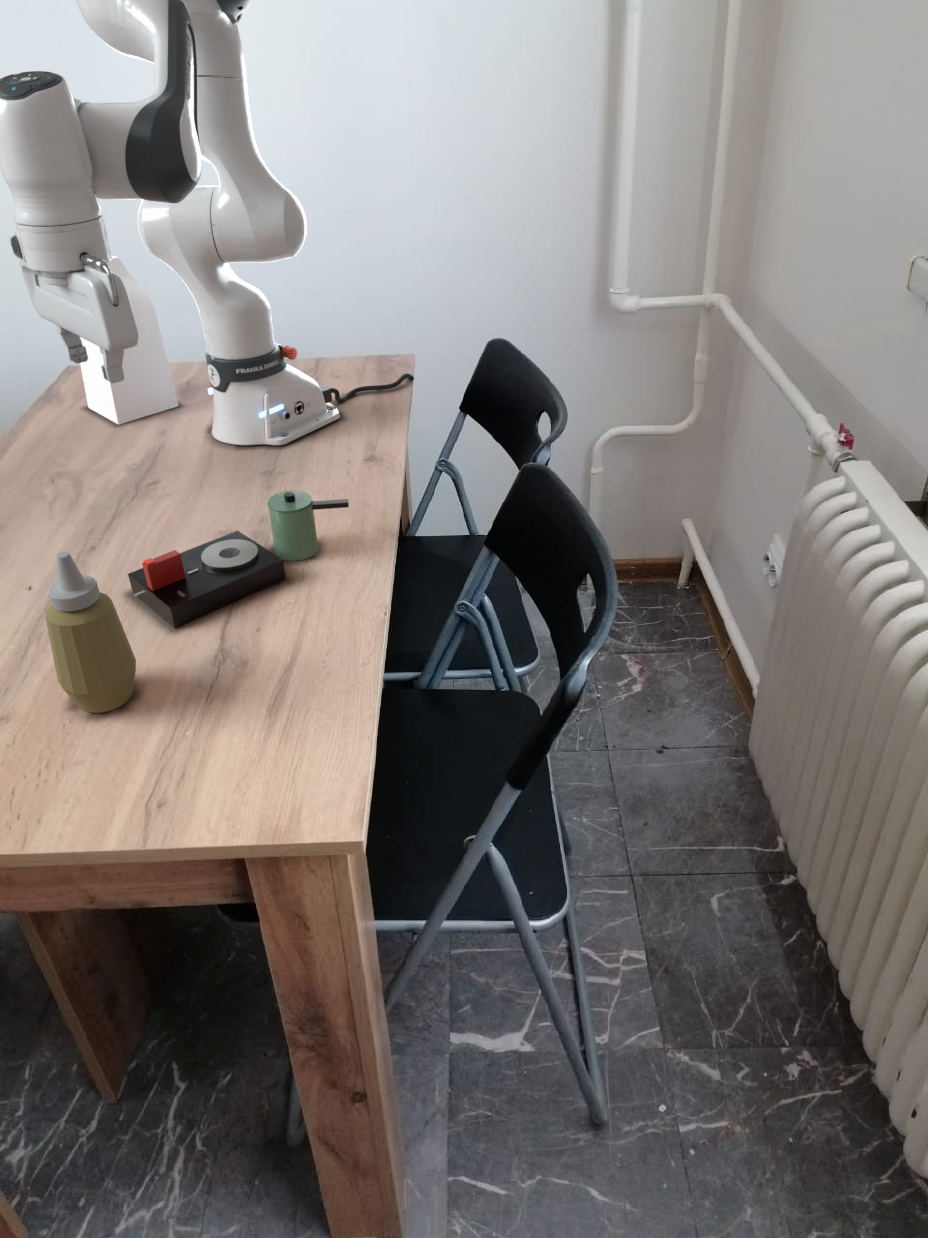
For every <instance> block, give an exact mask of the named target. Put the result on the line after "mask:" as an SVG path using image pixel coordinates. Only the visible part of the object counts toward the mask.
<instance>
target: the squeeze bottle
mask: <svg viewBox="0 0 928 1238" xmlns="http://www.w3.org/2000/svg"><path fill="white" fill-rule="evenodd" d="M56 570H57V571H56V573H57V580H56V581H54V582H53V583H52V584H51V585H50V586H49V588H48V596H49V601H50V603H51V604H50V605H49V607H47V609H46V611H45V622H46V627H47V632H48V637H49V643H50V648H51V654H52V659H53V664H54V668H55V674H56V678H57V679H56V680H57V683H58V684H59V686H60V687H61V688H62V690H63V691H64V692H65V693H66V694H67V695H68V696H69V697H70V699H71V700H72V701H73V702H74V704H75V705H77V707H78V708H79V709H80V710H81V711H85V712H86V713H94V714H100V713H106V712H110V711H114V710H116V709H118V708H120V707H122V706H123V705H124V704H125V703H127V702H128V701H129V700H130V698H131V697H132V695H133V694H134V687H135V686H134V685H135V678H136V672H137V658H136V656H135V653H134V651H133V648H132V646H131V644H130V642H129V640H128V639H129V638H128V637H127V635H126V632H125V629H124V627H123V624H122V621H121V619H120V617H119V615H118V612H117V610H116V608H115V605H114V602H113V600H112V598H111V597H110V596H109V595H108V594H106V593H103V592H101V591H100V588H99V585H98V582H97V580H96V578H95V577H93V576H91V575H88V574H82V573H81V571H80V569H79V567H78V566H77V564H76V562H75V561H74V559H73V557H72V556H71V554H70V552H68V551H63V552H62V551H61V552H59V553H58V554H56Z"/></svg>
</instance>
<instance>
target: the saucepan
mask: <svg viewBox="0 0 928 1238" xmlns="http://www.w3.org/2000/svg"><path fill="white" fill-rule="evenodd" d="M267 507H268V515H269V521H270V527H271V533H272V540H273V546H274V554H275V555H276V556H278V557H279V558H281V559H282V560H283V561H288V562H299V561H304V560H307V559H309V558H312V557H314V555H316V554H317V553H318V551H319V545H318V536H317V528H316V517H315V512H314V511H317V510H328V509H345V508H349V498H342V499H340V498H339V499H327V500H326V499H325V500H314V499H313V495H311V494H310V493H309V492H307V491H303V490H284V491H281V492H278V493H275V494H273V495H272V496H270V497H269V498H268V500H267Z"/></svg>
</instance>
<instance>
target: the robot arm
mask: <svg viewBox="0 0 928 1238" xmlns="http://www.w3.org/2000/svg"><path fill="white" fill-rule="evenodd" d="M75 2H76V4H77V7H78V9H79V12H80V14H81V16H82V18H83V20H84V21H85V23H86V24H87V26H88V27H89V29H90V30H91V31H92V33H94V34H95V36H96V37H97V38H99V40H101V41H102V42H103V43H104V44H106V46H108V47H109V48H111V49H112V50H114V51H115V52H117V53H119V54H122V55H124V56H127V57H129V58H133V59H138V60H141V61H144V62H149V63H150V64H153V87H152V88H153V89H152V90H153V92H152V94H150V96H148V97H146V98H143V99H141V100H137V101H131V102H91V101H90V102H88V101H87V102H86V101H83V102H82V100H80V99H77V98H75V97H73V95H72V92H71V90H70V88H69V85H68V83H67V81H66V79H65V77H63V76H62V75H61V74H58V73H55V72H52V71H44V70H34V71H32V70H31V71H21V72H19V73H12V74H8V75H6V76H3V77H1V78H0V171H1V174H2V178H3V179H4V182H5V183H6V185H7V186H8V189H9V191H10V194H11V197H12V200H13V212H14V213H13V216H14V222H15V226H16V229H17V230H16V231H15V232H14V233H13V234H11V235H9V237H8V243H9V247H10V250H11V253H12V255H13V256H14V257H15V258H18V259H19V266H20V270H21V275H22V277H23V280H24V284H25V286H26V289H27V293H28V295H29V298H30V301H31V303H32V306H33V307H34V309H35V311H36V313H37V314H38V316H39V317H41V318H42V319H45V320H47V321H48V322H50V323H52V324H54V325H55V328H56V332H57V334H58V336H59V337H60V340H61V341H62V343H63V346H64V347H65V349H66V354H67V357H68V359H69V361H71V362H73V363H74V364H80V363H81V362H86V361H87V360H88V355H87V351H86V347H85V346H84V345H82V342H81V339H80V337H82V338H83V339H85V340H87V341H89V342H91V343H93V344H95V345H97V346H99V348H100V352H101V354H103V359H104V365H103V366H101V367H102V371H103V374H104V375H103V376H104V378H105V379H106V380H107V381H109V382H111V383H117V382H120V381H123V380H124V373H123V369H122V362H123V355H124V349H128V348H131V347H135V346H136V345H137V344H138V339H139V334H138V329H137V325H136V321H135V318H134V314H133V310H132V307H131V303H130V300H129V296H128V293H127V291H126V288H125V285H124V283H123V281H122V280H121V278H120V277H119V276H118V275H116V274H115V273H112V272H111V271H110V269H109V268H108V264H107V263H108V262H109V261H110V260H111V259H112V257H113V255H112V252H111V245H110V242H109V238H108V233H107V229H106V224H105V219H104V215H103V211H102V207H101V206H100V203H99V202H98V200H97V199H99V200H100V199H101V200H141V203H140V205H139V208H138V211H137V230H138V233H139V236H140V238H141V240H142V242H143V244H144V246H145V247H146V249H147V250H148V251H149V252H150V253H151V254H152V255H153V256H154V257H155V258H156V259H159V260H160V261H161V262H163V263H164V264H165V265H166V266H168V267H169V268H170V269H171V270H172V271H173V272H175V274H176V275H177V276H178V277H179V278H180V279H181V281H182V282H183V283H184V284H185V287H187V289H188V290H189V293H190V294H191V296H192V299H193V300H194V302H195V304H196V307H197V311H198V313H199V318H200V321H201V326H202V329H203V335H204V339H205V345H206V350H205V361H206V367H207V374H208V379H209V382H210V386H211V387H208V388H207V393H208V395H212V404H213V405H212V411H213V415H212V426H211V435H212V437H213V438H214V439H215V440H217V441H219V442H222V443H224V444H229V445H235V446H256V445H257V446H259V445H267V446H284V445H287V444H289V443H291V442H293V441H295V440H298V439H299V438H301V437H303V436H305V435H307V434H309V433H312V432H314V431H316V430H319V429H320V428H322V427H324V426H327V425H328V424H331V423H332V422H335V421H337V420H339V419H340V411H339V409H338V407H336V406H335V405H333V404H332V402H333V396H332V394H334V400H335V401H336V402H338V403H343V402H345V401H347V400H348V399H350V398H351V397H353V396H354V395H356V394H357V393H361V392H367V391H368V392H369V391H383V390H391V389H394V388H396V387H398V386H399V385H401V384H402V383H403V381H404V380H406V379H408V380H409V381H410V380H411V381H413V380H415V377H414V376H413V374H410V373H407V372H406V373H403V374H402V375H401V376H399V378H398V379H397V380H395V381H394V382H391V383H388V384H378V385H377V384H376V385H364V386H363V385H362V386H358V387H356V388H353V389H351V390H350V391H349V392H347V394H345V395H344V396H342V397H341V395H340V391H339V390H338V389H337V388H335V387H328V386H326V385H323V384H321V383H319V382H317V381H316V380H315V379H314V378H313V377H311V376H309V375H308V374H306V373H304V372H303V371H301V370H299V369H297V368H295V367H294V366H292V365H290V364H288V362H287V360H286V358H287V359H288V360H289V361H295V360H296V359H297V357H298V353H299V352H298V350H297V349H296V347H292V346H290V345H285V346H284V345H282V344H280V343H277V342H276V341H275V333H274V326H273V319H272V310H271V305H270V302H269V300H268V299H267V297H266V296H265V294H264V293H263V292H262V291H261V290H260V289H259V288H257V287H255V286H254V285H252V284H250V283H247V282H245V281H244V280H242V279H241V278H240V277H239V276H237V275H236V274H235V271H234V270H233V269H232V267H231V266H230V264H236V263H237V264H238V263H239V264H241V263H242V264H243V263H244V264H247V263H248V264H251V263H252V264H256V263H259V264H260V263H261V264H262V263H264V264H266V263H267V264H268V263H272V262H277V261H283V260H287V259H291V258H294V257H296V256H297V254H299V252H300V250H301V249H302V248H303V246H304V243H305V240H306V237H307V229H308V224H307V217H306V213H305V210H304V207H303V205H302V204H301V202H300V200H299V199H298V198H297V197H296V196H295V194H294V193H293V192H292V191H291V190H289V189H288V188H286V187H285V186H284V185H283V184H282V183H281V182H279V181H278V179H277V178H276V177H275V176H274V175H273V173H272V172H271V171H270V170H269V168H268V166H267V165H266V163H265V161H264V159H263V158H262V155H261V154H260V150H259V149H258V145H257V142H256V140H255V135H254V130H253V129H254V128H253V124H252V123H253V122H252V117H251V111H250V110H251V109H250V102H249V93H248V81H247V71H246V63H245V59H244V58H245V57H244V51H243V46H242V39H241V36H240V31H239V27H238V23H239V22H240V21H241V19H242V16H243V13H244V12H246V11H247V10H248V9H249V7H250V6H251V4H252V2H253V0H75ZM202 160H203V161H205V162H207V163H209V164H210V165H211V166H212V167H213V168H214V171H215V172H216V175H217V177H218V182H219V183H218V185H197V184H198V183H199V181H201V176H202Z"/></svg>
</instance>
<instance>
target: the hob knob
mask: <svg viewBox="0 0 928 1238" xmlns="http://www.w3.org/2000/svg"><path fill="white" fill-rule="evenodd" d="M180 553H181V552H178V550H176V549H174V550H171V551H168V552H166V553H163V554H161V555H158V556H156V557H154V558H152V557H150V558H147V559H145V560H143V562H142V563H141V565H142V568H143V569H144V573H145V578H146V582H147V586H148V588H150V589H151V590H152V591H155V590H157V589H160V588H162V587H164V586H167V585H169V584H172V583H174V582H177V581H179V580H181V579H184V578H186V577H185V572H184V568H183V563H182V558H181V554H180Z"/></svg>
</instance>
